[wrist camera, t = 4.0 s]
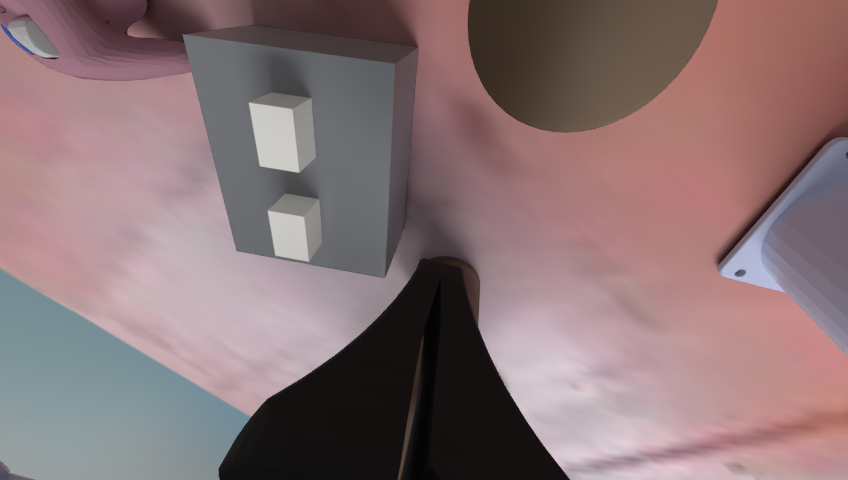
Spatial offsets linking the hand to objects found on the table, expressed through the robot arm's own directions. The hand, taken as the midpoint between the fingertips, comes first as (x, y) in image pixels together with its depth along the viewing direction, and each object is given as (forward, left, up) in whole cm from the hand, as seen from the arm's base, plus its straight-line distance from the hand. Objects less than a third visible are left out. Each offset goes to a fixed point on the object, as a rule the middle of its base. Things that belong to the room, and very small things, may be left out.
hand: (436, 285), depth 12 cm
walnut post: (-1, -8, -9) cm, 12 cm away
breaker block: (+7, 0, -10) cm, 12 cm away
